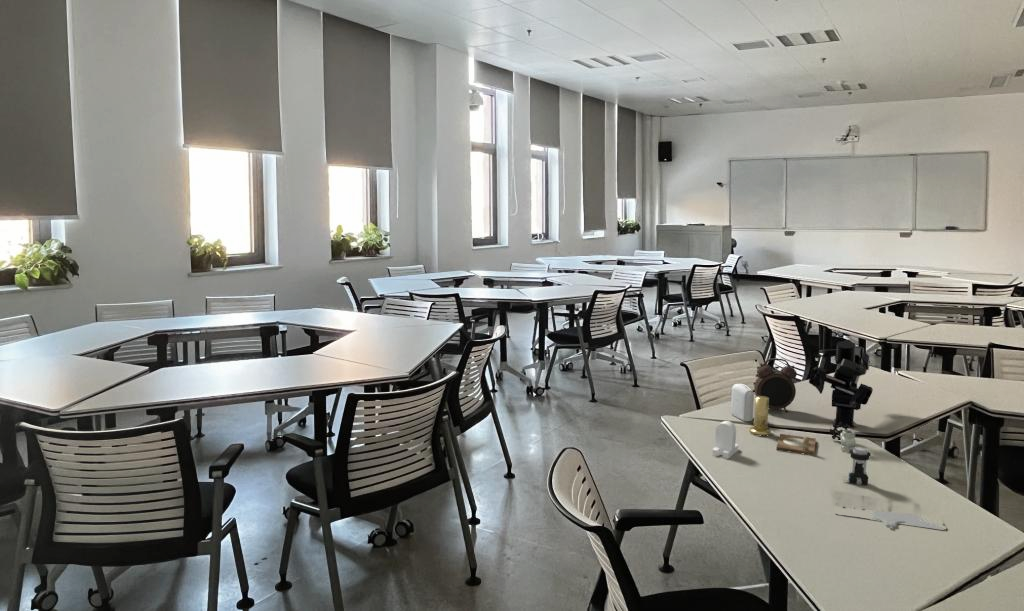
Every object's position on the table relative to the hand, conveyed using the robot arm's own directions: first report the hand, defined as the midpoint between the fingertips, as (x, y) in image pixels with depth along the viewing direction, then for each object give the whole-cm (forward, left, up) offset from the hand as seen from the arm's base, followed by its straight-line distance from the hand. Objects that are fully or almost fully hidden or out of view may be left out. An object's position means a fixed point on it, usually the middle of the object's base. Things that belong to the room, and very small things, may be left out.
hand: (835, 398), depth 228 cm
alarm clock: (-31, -21, -16) cm, 40 cm away
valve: (+1, +3, -16) cm, 16 cm away
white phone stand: (+22, -31, -16) cm, 41 cm away
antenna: (+47, +13, -16) cm, 52 cm away
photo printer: (-17, -31, -16) cm, 38 cm away
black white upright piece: (+31, +6, -16) cm, 36 cm away
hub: (-3, -23, -16) cm, 28 cm away
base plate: (+6, -11, -16) cm, 20 cm away
